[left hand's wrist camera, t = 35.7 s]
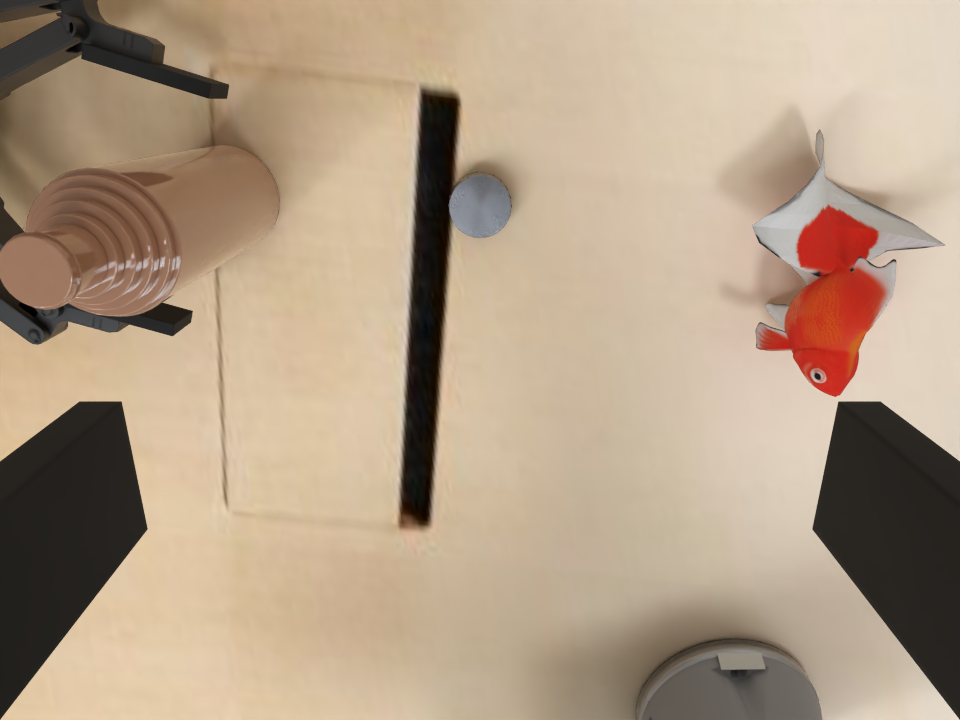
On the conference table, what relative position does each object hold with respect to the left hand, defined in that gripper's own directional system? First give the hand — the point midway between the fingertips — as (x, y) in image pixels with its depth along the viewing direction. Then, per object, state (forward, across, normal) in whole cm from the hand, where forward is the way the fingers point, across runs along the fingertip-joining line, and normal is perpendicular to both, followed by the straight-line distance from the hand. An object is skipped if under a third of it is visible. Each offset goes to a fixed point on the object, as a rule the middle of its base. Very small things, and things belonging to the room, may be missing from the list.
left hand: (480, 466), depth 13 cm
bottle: (+34, +16, 0) cm, 38 cm away
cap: (+33, 0, 0) cm, 33 cm away
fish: (+34, -21, +3) cm, 40 cm away
